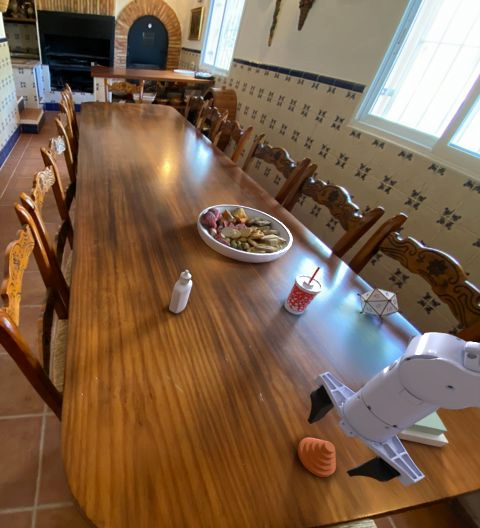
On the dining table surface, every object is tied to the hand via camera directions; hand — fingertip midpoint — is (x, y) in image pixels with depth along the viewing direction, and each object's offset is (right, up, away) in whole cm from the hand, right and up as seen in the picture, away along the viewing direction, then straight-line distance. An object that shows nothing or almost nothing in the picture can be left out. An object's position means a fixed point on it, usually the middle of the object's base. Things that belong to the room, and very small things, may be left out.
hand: (331, 444), depth 47 cm
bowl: (+6, +37, +54) cm, 65 cm away
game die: (+31, +15, +31) cm, 47 cm away
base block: (+20, -1, +10) cm, 23 cm away
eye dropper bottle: (-20, +18, +28) cm, 39 cm away
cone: (0, -4, +4) cm, 6 cm away
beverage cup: (+11, +17, +31) cm, 37 cm away
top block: (+20, +1, +9) cm, 22 cm away
